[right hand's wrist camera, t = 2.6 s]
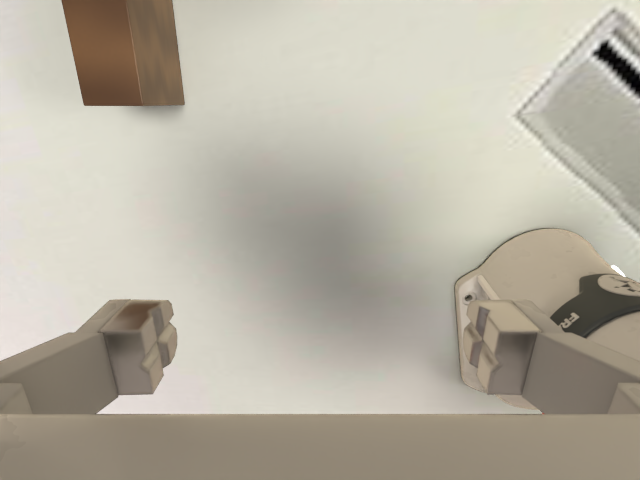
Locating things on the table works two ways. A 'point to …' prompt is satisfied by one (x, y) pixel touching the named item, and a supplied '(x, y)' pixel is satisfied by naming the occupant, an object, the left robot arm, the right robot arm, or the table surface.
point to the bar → (125, 52)
